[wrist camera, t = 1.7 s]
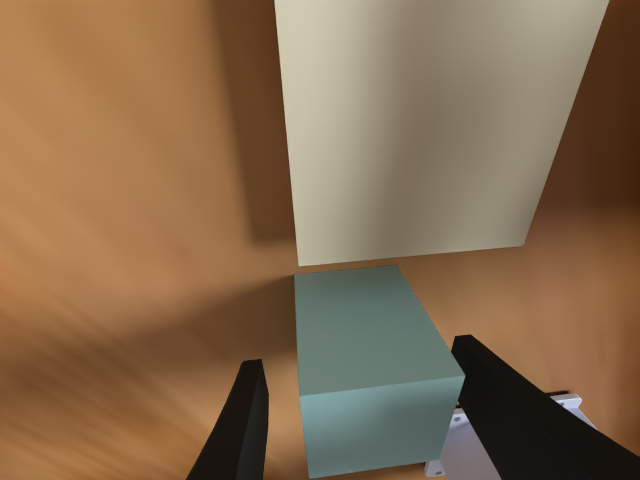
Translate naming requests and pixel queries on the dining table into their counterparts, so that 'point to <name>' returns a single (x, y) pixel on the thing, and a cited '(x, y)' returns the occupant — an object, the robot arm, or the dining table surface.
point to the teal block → (370, 372)
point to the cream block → (425, 119)
